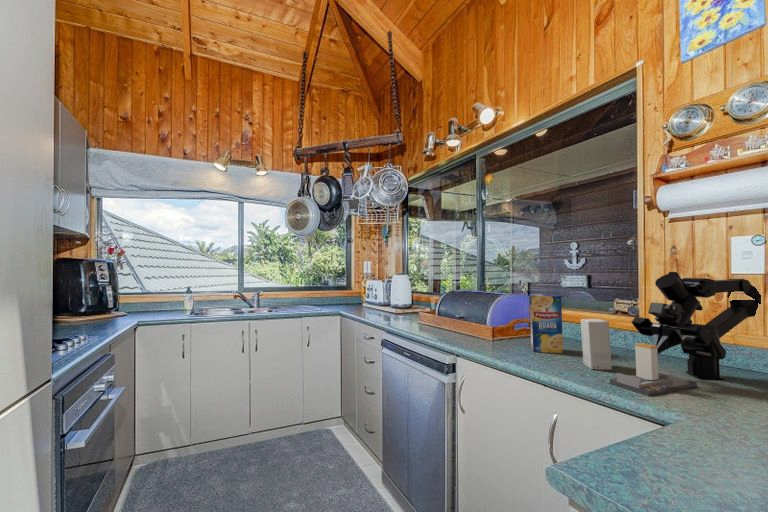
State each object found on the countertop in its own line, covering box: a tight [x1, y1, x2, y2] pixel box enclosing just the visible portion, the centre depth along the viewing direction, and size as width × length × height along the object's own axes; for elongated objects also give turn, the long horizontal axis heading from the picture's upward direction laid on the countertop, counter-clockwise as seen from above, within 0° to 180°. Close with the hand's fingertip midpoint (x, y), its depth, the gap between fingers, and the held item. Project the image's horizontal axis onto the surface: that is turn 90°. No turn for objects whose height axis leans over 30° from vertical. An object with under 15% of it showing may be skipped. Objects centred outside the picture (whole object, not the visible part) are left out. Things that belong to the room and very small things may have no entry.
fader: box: [634, 342, 659, 382], centre depth 103 cm, size 4×4×10 cm
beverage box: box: [528, 294, 564, 354], centre depth 148 cm, size 7×11×22 cm, turn 75°
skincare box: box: [580, 318, 613, 371], centre depth 124 cm, size 8×7×16 cm
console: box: [609, 370, 698, 397], centre depth 104 cm, size 19×12×4 cm, turn 109°
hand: (654, 352), depth 105 cm, fingers closed
